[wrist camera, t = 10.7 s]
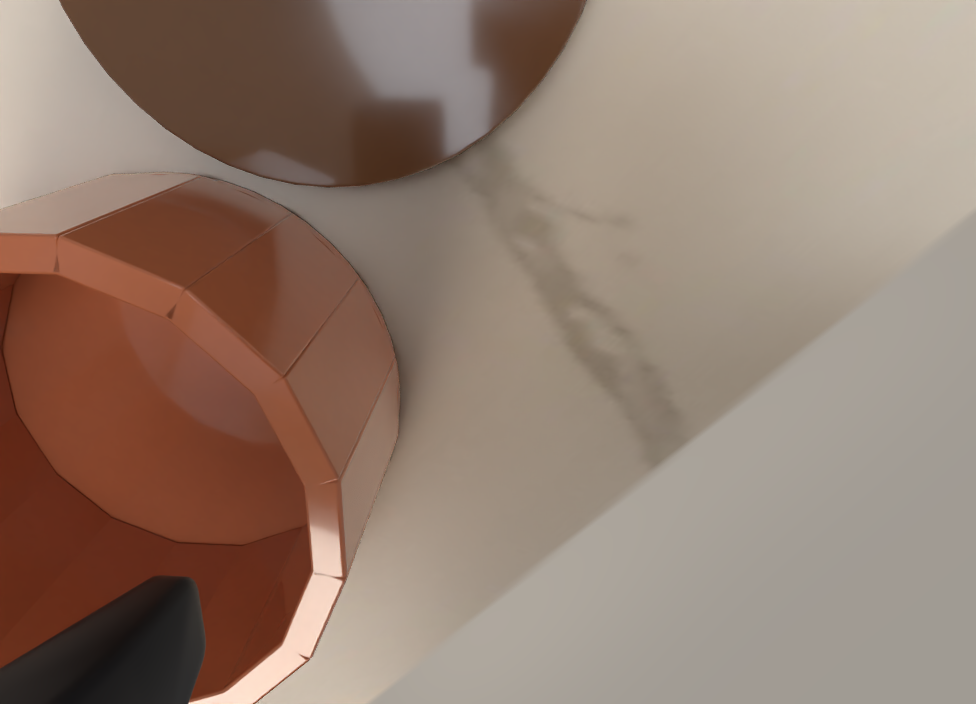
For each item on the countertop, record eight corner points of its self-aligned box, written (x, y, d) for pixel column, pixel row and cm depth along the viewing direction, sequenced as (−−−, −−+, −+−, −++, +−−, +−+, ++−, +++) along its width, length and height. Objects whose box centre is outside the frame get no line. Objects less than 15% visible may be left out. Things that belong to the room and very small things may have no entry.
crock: (488, 392, 21) (465, 537, 15) (227, 617, 24) (123, 810, 18) (151, 70, 18) (-41, 87, 12) (-87, 371, 21) (-329, 500, 15)
